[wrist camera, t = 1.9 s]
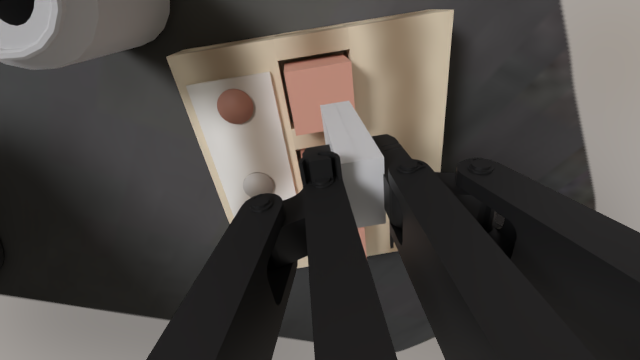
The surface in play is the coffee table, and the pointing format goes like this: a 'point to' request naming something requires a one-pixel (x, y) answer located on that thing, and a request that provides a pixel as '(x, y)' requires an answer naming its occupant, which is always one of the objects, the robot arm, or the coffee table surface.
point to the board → (275, 112)
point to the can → (75, 29)
